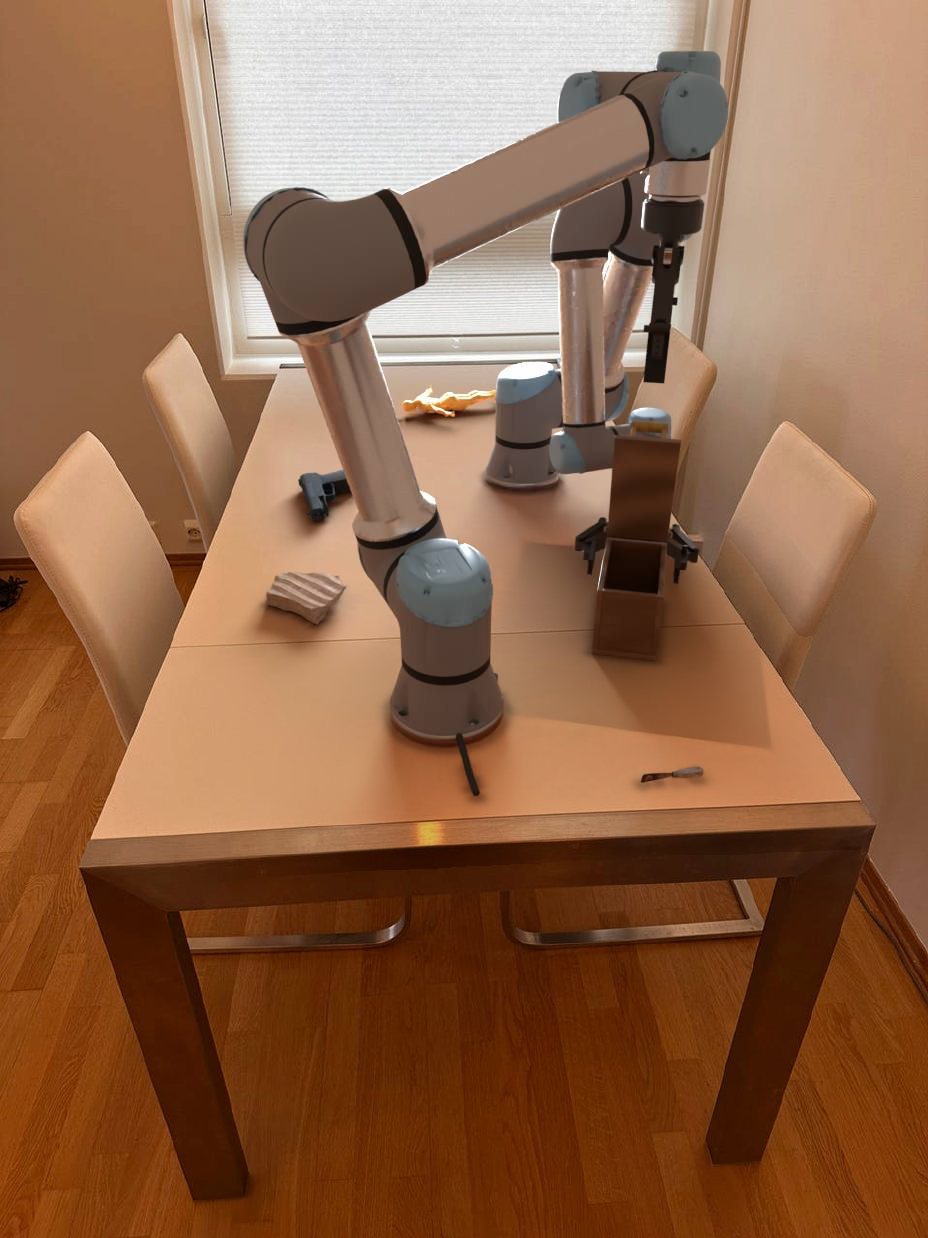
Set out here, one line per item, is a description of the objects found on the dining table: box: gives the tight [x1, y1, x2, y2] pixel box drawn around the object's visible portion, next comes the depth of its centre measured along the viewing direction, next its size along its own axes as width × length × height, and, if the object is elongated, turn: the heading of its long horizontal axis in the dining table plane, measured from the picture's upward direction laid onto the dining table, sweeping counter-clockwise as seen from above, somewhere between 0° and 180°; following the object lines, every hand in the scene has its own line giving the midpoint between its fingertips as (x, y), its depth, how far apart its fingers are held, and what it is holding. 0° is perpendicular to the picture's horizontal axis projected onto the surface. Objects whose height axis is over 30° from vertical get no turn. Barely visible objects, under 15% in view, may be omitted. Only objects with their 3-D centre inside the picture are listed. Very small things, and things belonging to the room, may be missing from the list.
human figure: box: [402, 385, 496, 418], centre depth 225 cm, size 20×20×4 cm
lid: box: [607, 421, 682, 541], centre depth 136 cm, size 18×9×8 cm
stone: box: [265, 571, 347, 625], centre depth 145 cm, size 13×12×2 cm
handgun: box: [298, 469, 351, 522], centre depth 178 cm, size 3×18×12 cm
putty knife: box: [640, 765, 705, 784], centre depth 109 cm, size 1×8×2 cm, turn 103°
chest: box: [591, 537, 667, 662], centre depth 136 cm, size 17×9×11 cm, turn 168°
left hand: (655, 367), depth 122 cm, fingers open, 13 cm apart
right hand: (633, 571), depth 141 cm, fingers open, 13 cm apart
